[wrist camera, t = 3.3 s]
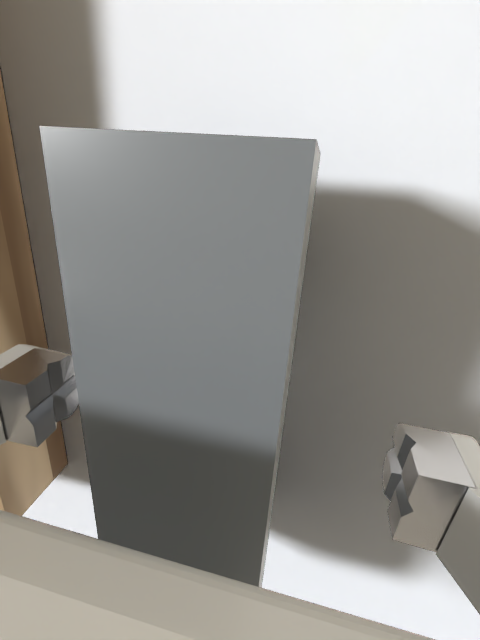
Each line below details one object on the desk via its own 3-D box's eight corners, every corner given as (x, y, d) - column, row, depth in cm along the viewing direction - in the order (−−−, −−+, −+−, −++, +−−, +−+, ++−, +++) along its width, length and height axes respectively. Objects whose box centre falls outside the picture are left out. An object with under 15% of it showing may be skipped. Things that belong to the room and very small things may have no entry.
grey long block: (321, 157, 10) (316, 139, 4) (273, 512, 15) (244, 696, 10) (185, 150, 11) (39, 125, 5) (185, 491, 16) (114, 652, 11)
